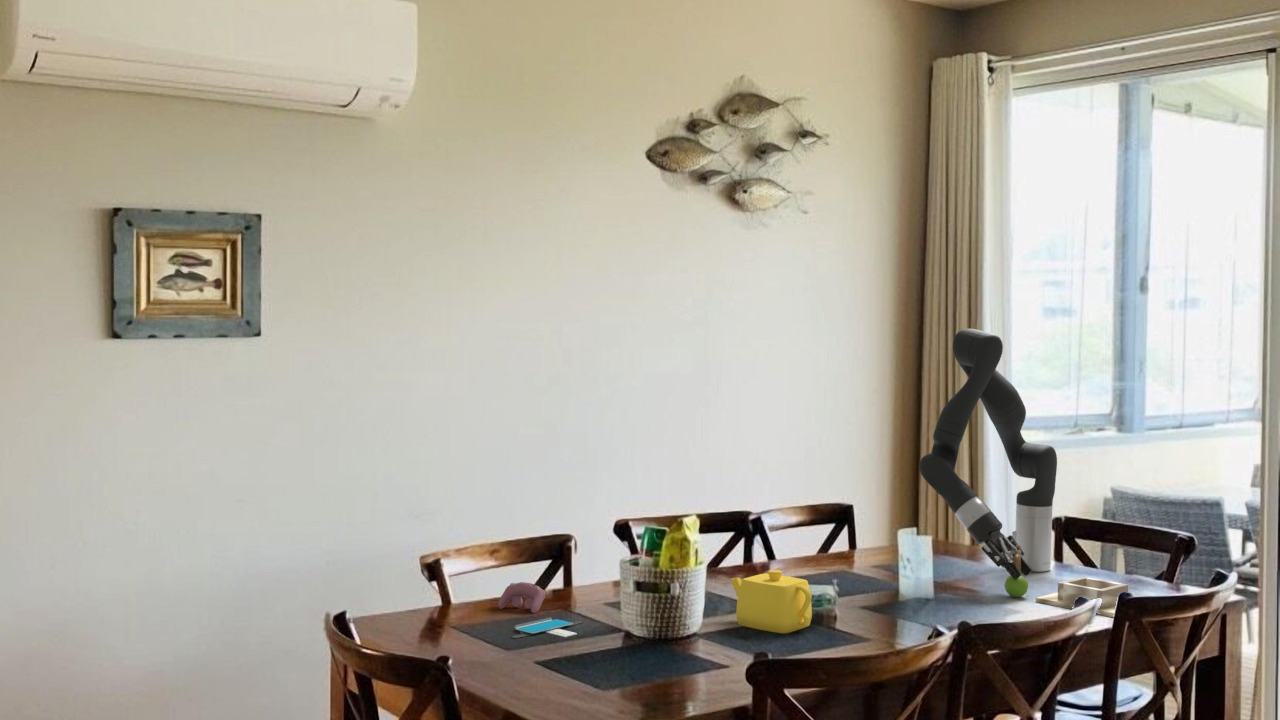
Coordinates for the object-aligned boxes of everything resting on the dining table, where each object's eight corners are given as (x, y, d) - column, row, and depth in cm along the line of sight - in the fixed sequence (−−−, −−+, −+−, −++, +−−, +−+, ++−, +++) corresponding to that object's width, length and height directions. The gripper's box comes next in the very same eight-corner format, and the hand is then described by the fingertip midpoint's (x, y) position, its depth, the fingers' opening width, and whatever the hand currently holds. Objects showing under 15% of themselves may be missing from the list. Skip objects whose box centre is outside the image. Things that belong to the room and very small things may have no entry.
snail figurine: (1028, 595, 327) (1030, 545, 326) (1027, 600, 321) (1028, 550, 320) (1005, 593, 329) (1007, 543, 328) (1003, 598, 322) (1005, 548, 322)
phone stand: (535, 646, 271) (535, 638, 271) (495, 636, 279) (495, 628, 279) (604, 630, 286) (604, 622, 286) (564, 620, 294) (564, 613, 294)
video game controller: (542, 617, 300) (550, 587, 303) (534, 612, 297) (541, 581, 299) (504, 612, 304) (511, 582, 307) (495, 607, 301) (502, 576, 303)
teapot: (715, 621, 294) (716, 567, 293) (748, 612, 303) (749, 560, 303) (793, 637, 281) (795, 581, 280) (825, 627, 291) (826, 572, 290)
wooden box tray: (1035, 601, 319) (1036, 580, 319) (1072, 593, 330) (1072, 572, 330) (1114, 617, 305) (1115, 595, 304) (1149, 607, 315) (1150, 586, 315)
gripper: (976, 513, 323) (1022, 570, 316) (1001, 507, 334) (1046, 561, 327) (955, 533, 326) (1000, 589, 319) (980, 526, 337) (1024, 580, 331)
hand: (1023, 575), depth 323 cm, fingers closed on snail figurine, 5 cm apart
